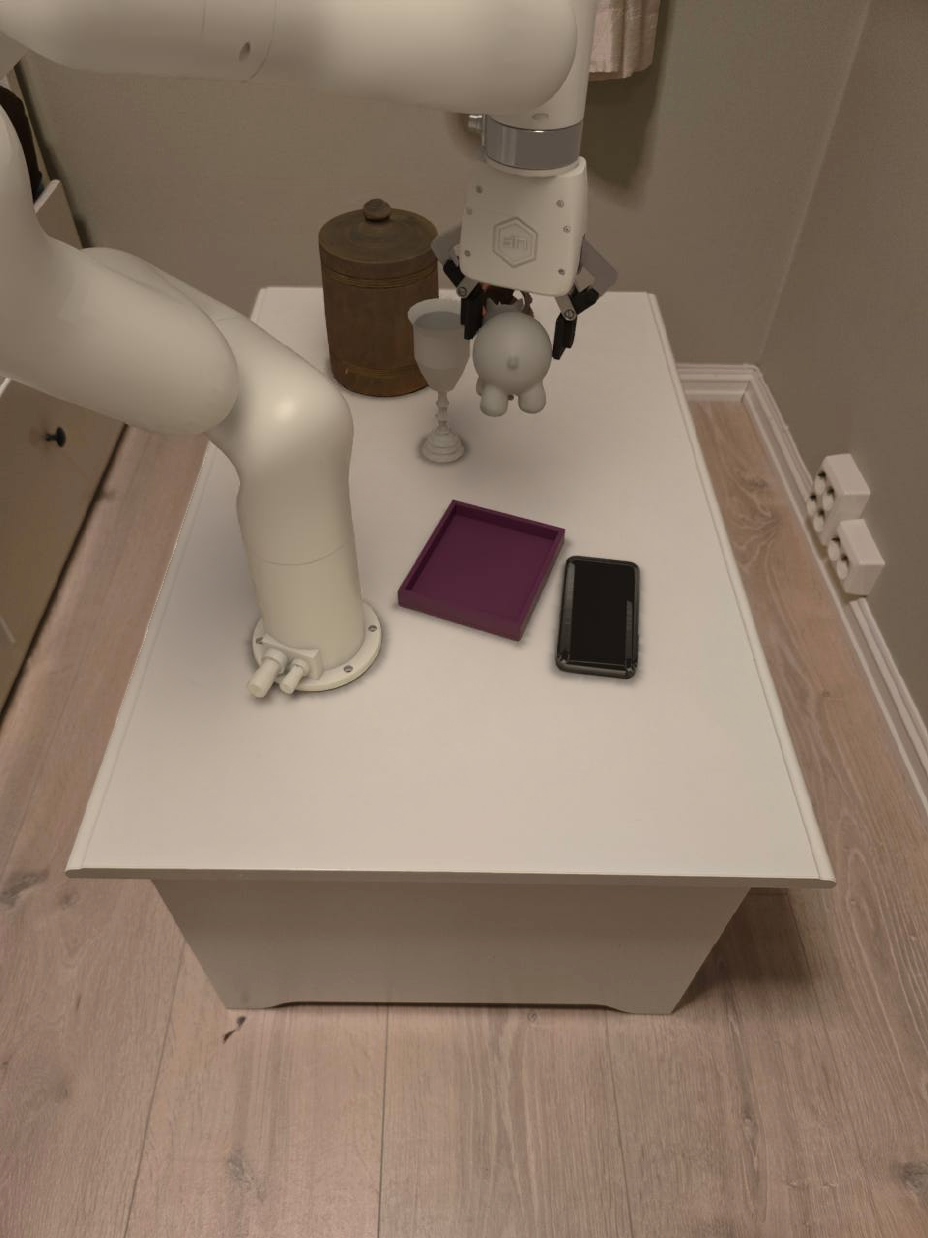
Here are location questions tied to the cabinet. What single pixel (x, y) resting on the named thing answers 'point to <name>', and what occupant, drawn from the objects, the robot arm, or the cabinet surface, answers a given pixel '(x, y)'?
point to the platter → (483, 569)
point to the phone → (599, 617)
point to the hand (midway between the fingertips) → (516, 341)
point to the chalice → (440, 366)
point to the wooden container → (376, 295)
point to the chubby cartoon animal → (511, 359)
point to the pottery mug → (505, 298)
